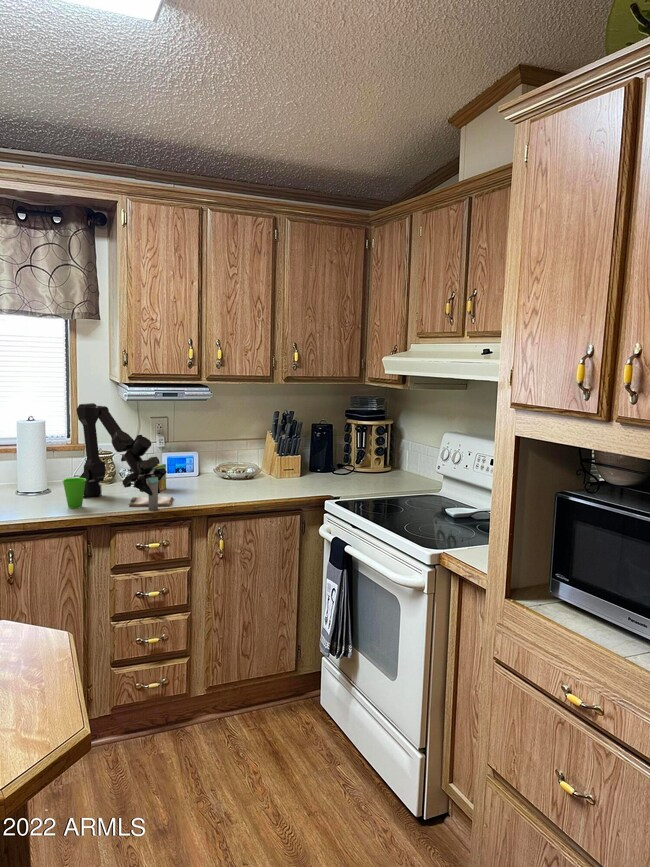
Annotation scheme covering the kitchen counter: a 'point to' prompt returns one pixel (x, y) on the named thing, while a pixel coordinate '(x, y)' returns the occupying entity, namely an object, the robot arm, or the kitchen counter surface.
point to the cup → (74, 491)
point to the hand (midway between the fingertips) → (155, 494)
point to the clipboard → (145, 501)
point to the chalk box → (163, 481)
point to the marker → (154, 488)
